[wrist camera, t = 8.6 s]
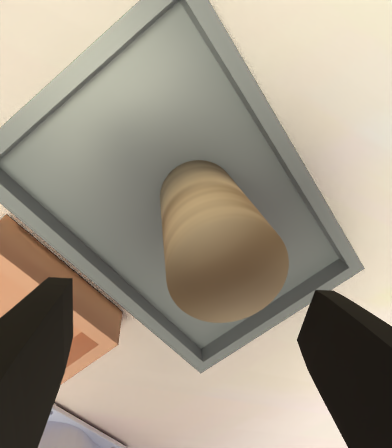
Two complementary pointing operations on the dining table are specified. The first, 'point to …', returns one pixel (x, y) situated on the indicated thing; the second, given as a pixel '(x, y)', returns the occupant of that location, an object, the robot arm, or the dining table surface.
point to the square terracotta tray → (82, 294)
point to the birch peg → (217, 246)
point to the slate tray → (163, 169)
